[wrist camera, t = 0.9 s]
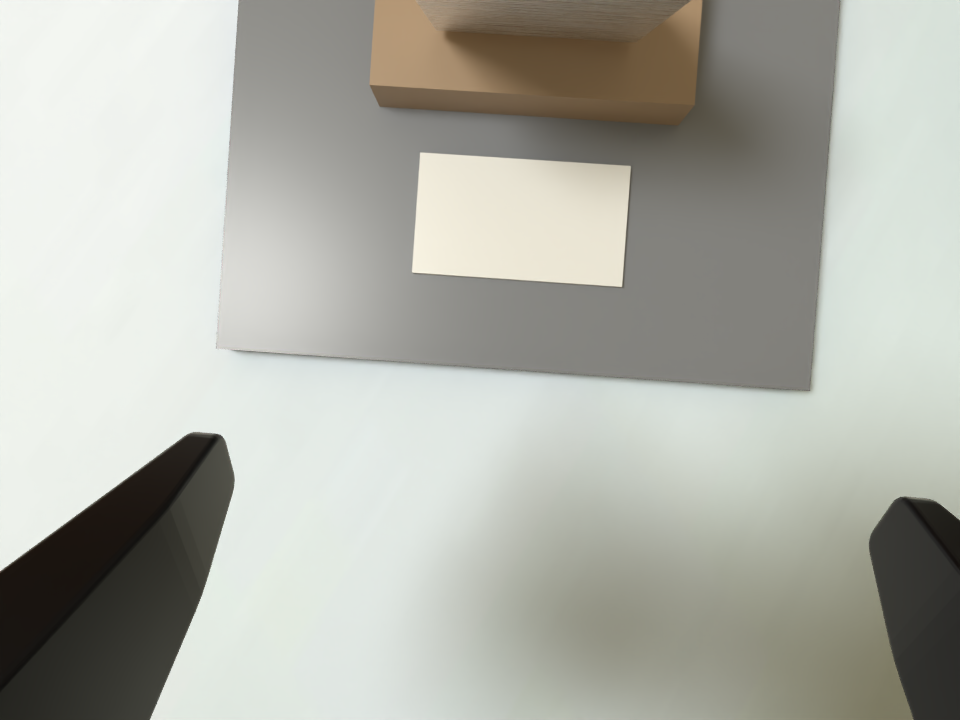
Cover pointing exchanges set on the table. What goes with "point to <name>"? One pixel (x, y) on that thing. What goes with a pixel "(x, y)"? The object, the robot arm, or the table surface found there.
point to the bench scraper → (552, 17)
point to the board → (531, 191)
